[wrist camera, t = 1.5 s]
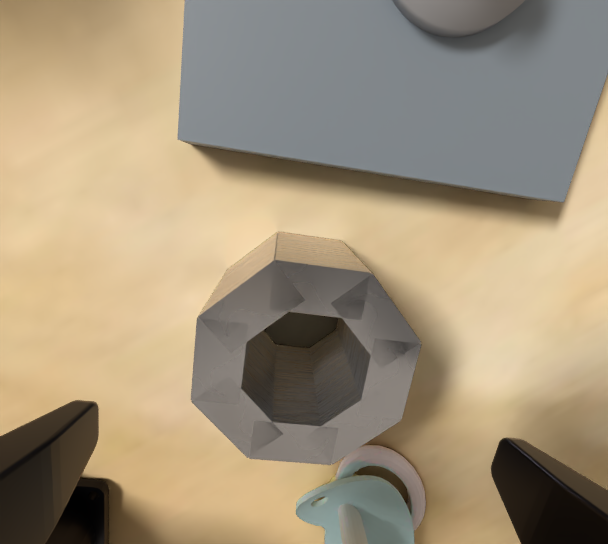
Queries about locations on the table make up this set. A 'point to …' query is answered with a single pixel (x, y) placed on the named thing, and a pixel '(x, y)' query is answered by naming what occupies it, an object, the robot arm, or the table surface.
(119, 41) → the table surface
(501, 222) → the table surface
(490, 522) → the table surface
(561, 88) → the block
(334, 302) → the hub
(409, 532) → the pacifier
